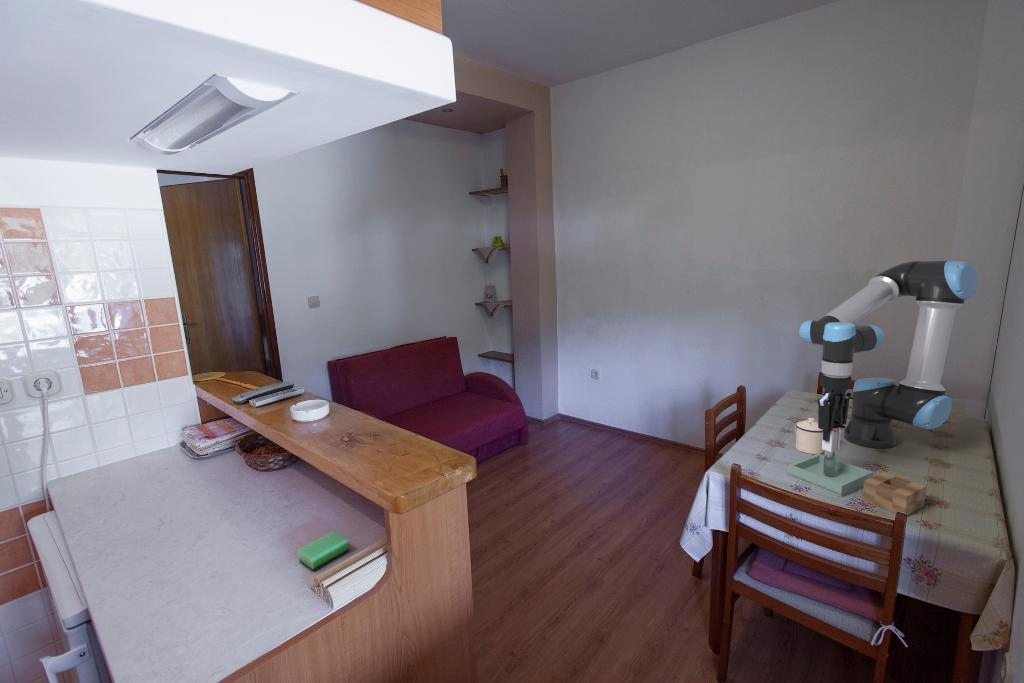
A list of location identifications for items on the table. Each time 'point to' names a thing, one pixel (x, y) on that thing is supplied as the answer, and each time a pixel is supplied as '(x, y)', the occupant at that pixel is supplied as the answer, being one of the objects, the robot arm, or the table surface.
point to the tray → (837, 484)
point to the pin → (831, 456)
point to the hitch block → (894, 493)
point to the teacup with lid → (809, 437)
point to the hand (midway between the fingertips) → (830, 448)
